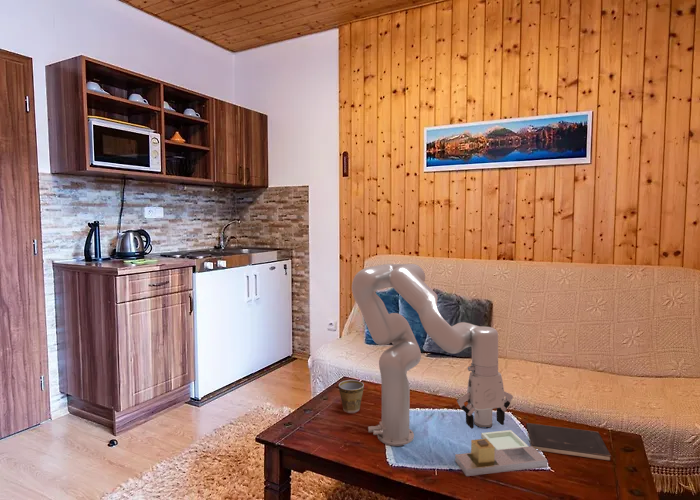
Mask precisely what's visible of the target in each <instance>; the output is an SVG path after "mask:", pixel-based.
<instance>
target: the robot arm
mask: <svg viewBox="0 0 700 500" xmlns="http://www.w3.org/2000/svg"><path fill="white" fill-rule="evenodd" d="M425 281H426V274H425V271H424V270H423V268H422V267H421V266H419V265H418V264H415V263H403V264H402V263H387V264H386V263H384V264H378V265H373V266H368V267H365V268H363V269H361V270H359V271H358V272H356V274H355V275H354V277H353V279H352V283H351V292H352V296H353V299H354V301H355V304H357V306H358V308H359V311H360V313H361V315H362V318H363V320H364V321H365V322H364V323H365V325H366V327H367V329H368V331H369V334H370V336H371V338H372V340H373V342H374V343H375V344H377V345H378V346H386V345H389V344H392V346H391V347H388V348H387V349H385V351H383V352H382V353H381V354H380V357H379V360H378V367H379V373H380V378H381V379H380V380H381V381H380V382H381V420H380V421H379V423H378V424H376V425H375V426H374V425H371V426H367V430H368V433H373V436H376V437H377V439H378V440H379V442H381V443H383V444H384V445H387V446H394V447H402V446H405V445H408V444H410V443H411V442H413V440H414V438H415V434H414V431H413V430H412V429H410V395H411V393H410V390H411V389H410V381H409V379H408V376H407V374H408V373H407V372H408V371H410V370H411V369H413V368H414V367H416V366H418V364H419V363H420V362H421V358H422V353H421V348H420V346H419V343H418V341H417V339H416V336H415V334H414V333H413V330H412V328H411V325H410V324H409V321H408V320H407V318H405V316H403V315H402V314H400V313H396V312H391V313H389V311H388V309H387V307H386V305H385V302H384V301H383V300H382V299H381V297H380V296H379V295H378V294H377V293H376V292H377V291H379V290H383V289H387V288H388V289H389V288H393V289H394V290H395V292H396V293H397V294H399V296H401V297H402V298H403V300H404V301H406V302H407V303H408V304H409V305H410V306H411V308H412V309H413V310H414V311H415V312H416V313H417V314H418V317H419V320H420V323H421V325H422V327H423V329H424V331H425V332H426V334H427V335H428V336H429V337H430V338H431V339H432V341H433V342H434V343H435V344H436V345H437V346H438V347H439V348H441V349H442V351H443V350H444V352H446V353H448V354H458V353H460V352H463V351H464V350H465V349H467V348H471V363H470V366H467V370H468V372H470V373H469V376H468V382H467V391H466V393H465V394H463V395H462V396H460V397H459V398H458V399H457V400H456V402H457V404H458V406H459V407H460V409H461V410H462V411H463V412H464V413H465V423H466V424H465V425H467V426H468V427H469V428H470V429H474V427H475V423H474V414H473V413H474V411H475V410H485V409H492V410H493V409H494V410H495V409H496V421H497V422H498V423H499V424H500V425H502V426H504V425H505V419H506V418H505V414H506V411H507V409H508V408H509V406H510V405H511V402H512V400H513V394H511V393H510V392H507V391H505V387H504V386H505V385H504V381H503V377H502V373H501V372H499V332H498V330H497V329H496V328H494V327H491V326H479V325H476V324H472V323H470V322H464V321H462V322H457V323H456V324H454V325H450V324H449V323H448V322H447V320H446V319H445V318H443V316H442V315H441V313H440V311H439V309H438V294H437V293H436V292H435V291H434V290H433V289H432V288H431V287H430V286H429V285H428V284H427V283H425ZM466 402H467V404H466V405H465V403H466Z"/></svg>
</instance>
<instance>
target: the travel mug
mask: <svg viewBox="0 0 700 500" xmlns="http://www.w3.org/2000/svg"><path fill="white" fill-rule="evenodd" d="M473 413H474V414H473V416H474V426H475V425H476V427H478V426H479V428H481V427H489V428H491V427H492V426H493V409H485V410H475V411H474V412H473Z"/></svg>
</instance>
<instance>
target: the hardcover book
mask: <svg viewBox="0 0 700 500" xmlns="http://www.w3.org/2000/svg"><path fill="white" fill-rule="evenodd" d="M525 423H526V424H525V427H526V428H527V433H529V434H528V438H529V442H530V446H532V447H533V448H535V449H538V450H537V451H539V450H541V451H540V452H548V453H554V454H562V455H568V456H576V457H583V458H590V459H597V460H603V461H604V460H605V461H611V457H612V455H611V453H610V451H609V450H608V448H607V446H606V444H605V441H604V440H603V438H602V436H601V435H600V432H599V431H594V430H587V429H579V428H571V427H564V426H563V427H562V426H557V425H556V426H555V425H546V424H541V423H533V422H532V423H530V422H525Z"/></svg>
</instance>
